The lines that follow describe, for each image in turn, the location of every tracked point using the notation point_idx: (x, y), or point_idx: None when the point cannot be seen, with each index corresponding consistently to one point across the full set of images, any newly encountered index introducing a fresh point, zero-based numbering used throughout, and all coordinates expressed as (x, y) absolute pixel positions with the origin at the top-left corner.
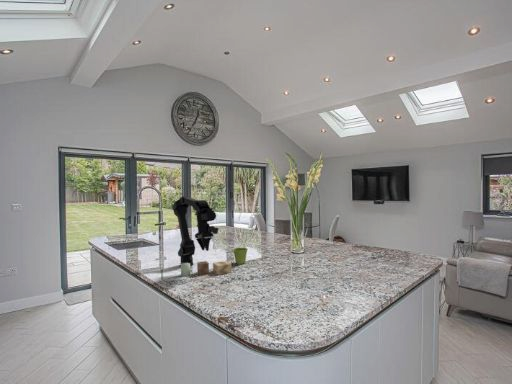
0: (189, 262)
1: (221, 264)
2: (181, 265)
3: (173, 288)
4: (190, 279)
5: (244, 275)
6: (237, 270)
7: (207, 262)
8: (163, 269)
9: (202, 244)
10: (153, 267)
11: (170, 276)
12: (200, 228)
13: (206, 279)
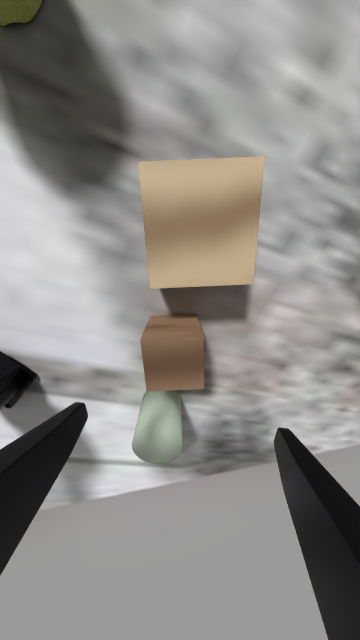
0: (7, 380)
1: (231, 245)
2: (167, 458)
3: None
4: (234, 396)
5: (348, 118)
6: (216, 116)
7: (182, 339)
8: None
9: (22, 493)
10: None
11: None
12: None
13: (273, 344)
